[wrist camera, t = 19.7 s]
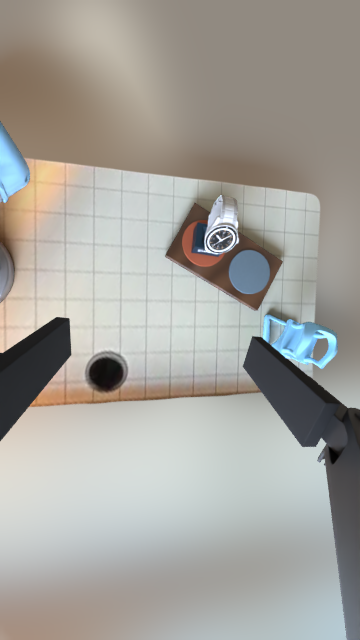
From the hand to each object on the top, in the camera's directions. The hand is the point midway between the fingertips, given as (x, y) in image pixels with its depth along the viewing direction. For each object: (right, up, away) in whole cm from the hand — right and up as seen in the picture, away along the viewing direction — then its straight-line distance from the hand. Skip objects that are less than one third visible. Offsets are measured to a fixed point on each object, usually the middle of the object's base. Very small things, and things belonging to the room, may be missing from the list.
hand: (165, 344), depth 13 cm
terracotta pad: (+6, +17, +23) cm, 29 cm away
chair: (+22, -2, +27) cm, 35 cm away
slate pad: (+15, +12, +25) cm, 31 cm away
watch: (+6, +17, +23) cm, 29 cm away
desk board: (+10, +14, +25) cm, 31 cm away
